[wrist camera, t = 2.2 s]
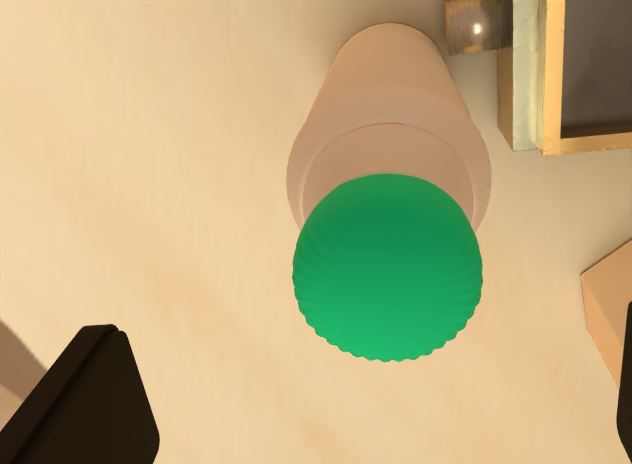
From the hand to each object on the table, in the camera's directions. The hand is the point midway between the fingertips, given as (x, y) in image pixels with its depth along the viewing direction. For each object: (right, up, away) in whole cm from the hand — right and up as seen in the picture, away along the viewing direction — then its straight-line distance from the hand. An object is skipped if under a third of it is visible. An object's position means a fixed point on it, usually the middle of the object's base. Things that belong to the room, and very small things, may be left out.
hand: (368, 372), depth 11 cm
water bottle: (+3, +12, +25) cm, 28 cm away
